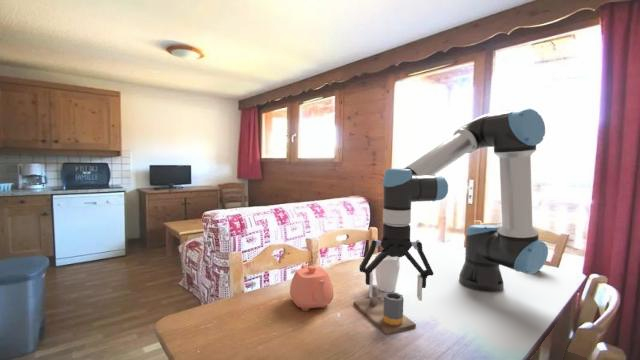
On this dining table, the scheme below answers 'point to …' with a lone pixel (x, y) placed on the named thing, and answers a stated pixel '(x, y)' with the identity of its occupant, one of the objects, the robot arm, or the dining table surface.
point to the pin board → (381, 313)
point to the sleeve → (393, 308)
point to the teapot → (311, 288)
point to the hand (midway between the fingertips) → (394, 297)
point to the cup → (387, 273)
